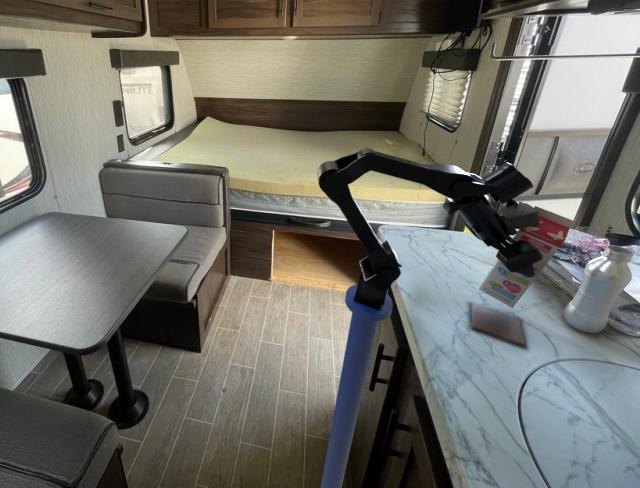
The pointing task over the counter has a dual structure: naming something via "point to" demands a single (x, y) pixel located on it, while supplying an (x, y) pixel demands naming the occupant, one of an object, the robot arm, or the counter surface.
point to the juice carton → (547, 241)
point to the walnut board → (497, 324)
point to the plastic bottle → (599, 290)
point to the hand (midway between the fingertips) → (518, 263)
